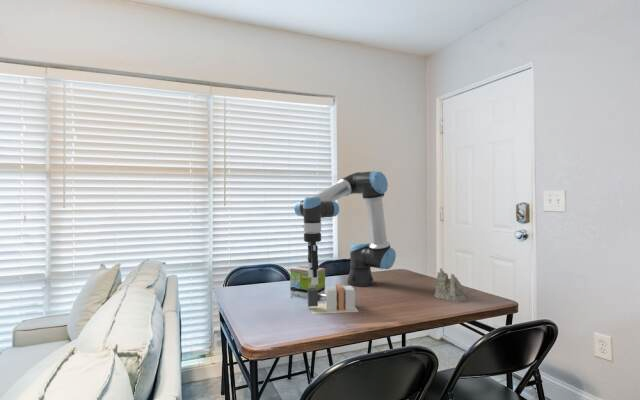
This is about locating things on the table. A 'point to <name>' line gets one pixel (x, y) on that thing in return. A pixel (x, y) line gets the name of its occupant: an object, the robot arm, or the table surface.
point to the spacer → (340, 296)
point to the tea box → (305, 281)
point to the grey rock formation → (449, 287)
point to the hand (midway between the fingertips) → (313, 280)
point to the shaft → (316, 297)
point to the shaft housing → (331, 302)
